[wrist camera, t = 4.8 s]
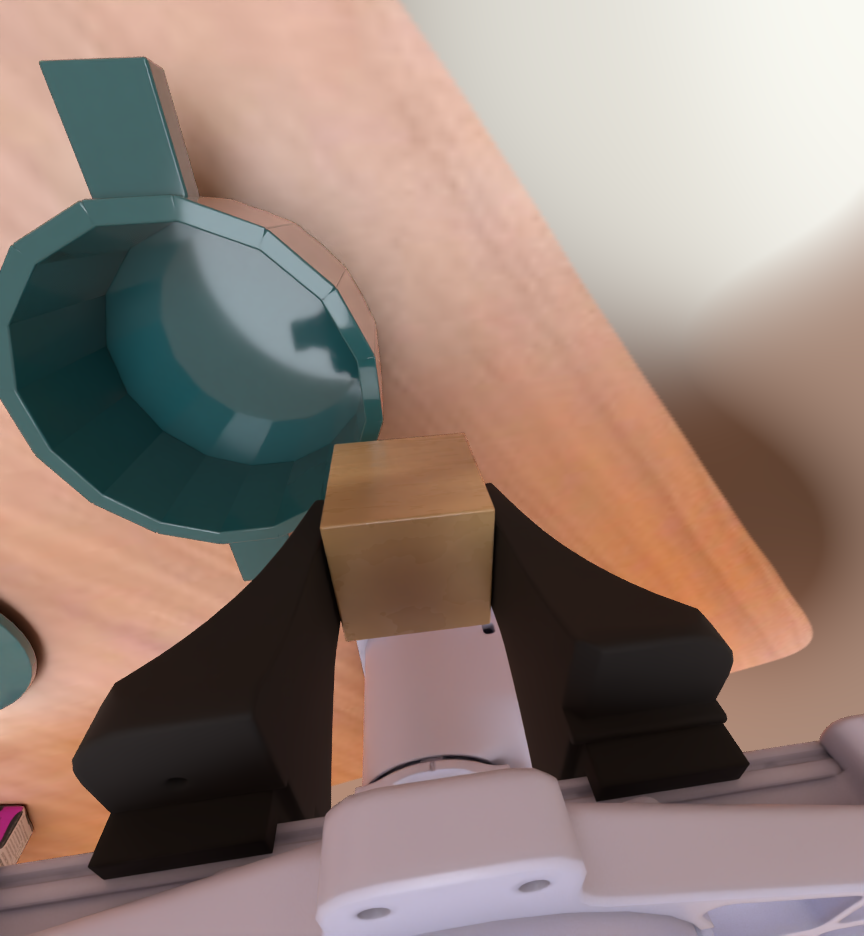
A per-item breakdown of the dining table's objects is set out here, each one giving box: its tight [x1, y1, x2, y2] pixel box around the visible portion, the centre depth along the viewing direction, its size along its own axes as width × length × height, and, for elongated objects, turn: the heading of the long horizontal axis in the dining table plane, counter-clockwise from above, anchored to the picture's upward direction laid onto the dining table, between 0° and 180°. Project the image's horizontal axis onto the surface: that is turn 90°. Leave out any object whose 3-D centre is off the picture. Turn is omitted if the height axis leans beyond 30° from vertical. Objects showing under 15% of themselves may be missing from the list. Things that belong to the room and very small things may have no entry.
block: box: [320, 433, 495, 642], centre depth 12 cm, size 4×4×4 cm
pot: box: [0, 57, 383, 581], centre depth 16 cm, size 11×17×5 cm
